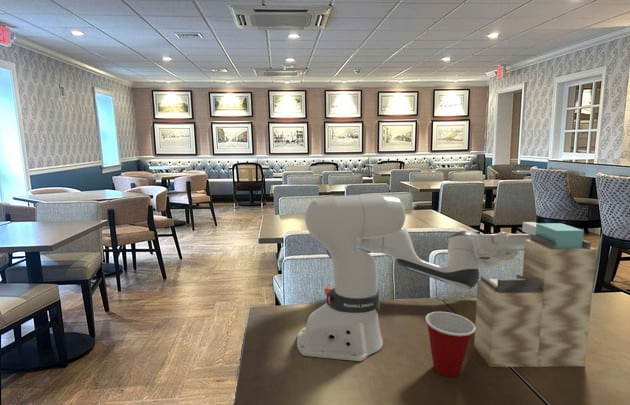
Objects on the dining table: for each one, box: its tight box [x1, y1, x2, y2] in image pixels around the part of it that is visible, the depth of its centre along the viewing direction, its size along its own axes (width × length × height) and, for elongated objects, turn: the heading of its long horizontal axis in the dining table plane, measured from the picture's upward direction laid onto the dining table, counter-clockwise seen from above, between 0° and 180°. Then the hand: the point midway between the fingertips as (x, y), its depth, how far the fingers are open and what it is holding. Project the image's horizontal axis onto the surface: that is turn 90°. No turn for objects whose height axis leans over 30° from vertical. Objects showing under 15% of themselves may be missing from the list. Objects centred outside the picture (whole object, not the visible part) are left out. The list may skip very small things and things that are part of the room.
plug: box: [521, 221, 585, 248], centre depth 95 cm, size 6×17×4 cm, turn 0°
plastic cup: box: [425, 311, 476, 378], centre depth 88 cm, size 11×11×12 cm
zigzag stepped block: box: [473, 234, 597, 368], centre depth 92 cm, size 22×9×30 cm, turn 90°
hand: (523, 234), depth 107 cm, fingers open, 8 cm apart
